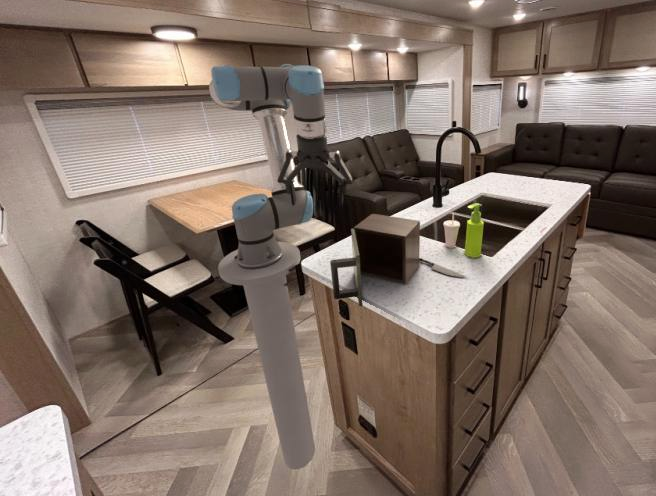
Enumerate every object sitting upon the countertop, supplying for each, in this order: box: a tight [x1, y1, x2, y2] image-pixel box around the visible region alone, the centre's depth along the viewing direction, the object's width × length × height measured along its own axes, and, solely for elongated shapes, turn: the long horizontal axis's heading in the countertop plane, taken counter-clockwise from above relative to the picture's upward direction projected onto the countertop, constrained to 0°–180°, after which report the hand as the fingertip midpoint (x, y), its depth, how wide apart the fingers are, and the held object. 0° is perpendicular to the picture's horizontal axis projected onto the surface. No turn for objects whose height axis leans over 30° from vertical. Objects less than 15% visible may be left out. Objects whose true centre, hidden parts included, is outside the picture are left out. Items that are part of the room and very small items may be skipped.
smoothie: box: [443, 212, 461, 249], centre depth 125 cm, size 6×6×14 cm
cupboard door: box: [329, 228, 364, 307], centre depth 97 cm, size 8×18×17 cm, turn 12°
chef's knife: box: [419, 257, 467, 278], centre depth 110 cm, size 19×1×3 cm
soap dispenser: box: [464, 202, 485, 259], centre depth 117 cm, size 6×7×20 cm
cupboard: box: [353, 213, 421, 285], centre depth 108 cm, size 13×18×17 cm
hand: (318, 203), depth 94 cm, fingers open, 13 cm apart
